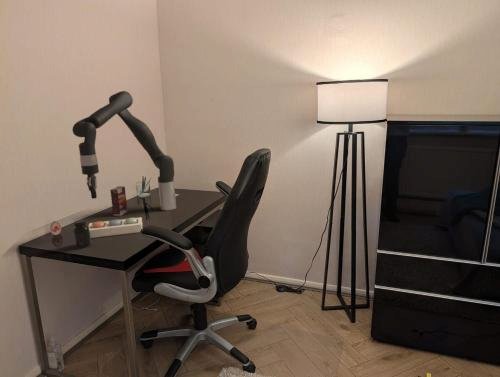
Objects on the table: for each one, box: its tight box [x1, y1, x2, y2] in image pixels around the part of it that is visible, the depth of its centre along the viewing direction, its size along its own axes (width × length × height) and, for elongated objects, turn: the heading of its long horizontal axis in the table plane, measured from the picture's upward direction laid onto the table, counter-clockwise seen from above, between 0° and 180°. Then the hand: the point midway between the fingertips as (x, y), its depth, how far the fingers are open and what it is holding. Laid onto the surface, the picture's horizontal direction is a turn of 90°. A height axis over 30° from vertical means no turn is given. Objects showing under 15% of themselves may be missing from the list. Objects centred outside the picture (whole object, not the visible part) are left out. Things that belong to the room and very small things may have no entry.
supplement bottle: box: [72, 219, 92, 249], centre depth 164 cm, size 7×7×12 cm
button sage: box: [125, 217, 138, 225], centre depth 184 cm, size 6×6×3 cm
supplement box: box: [110, 185, 129, 217], centre depth 210 cm, size 9×5×16 cm, turn 168°
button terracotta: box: [91, 220, 105, 228], centre depth 180 cm, size 6×6×3 cm
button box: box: [87, 217, 143, 239], centre depth 182 cm, size 26×12×4 cm, turn 105°
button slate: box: [108, 219, 121, 227], centre depth 182 cm, size 6×6×3 cm
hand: (94, 198), depth 176 cm, fingers closed
